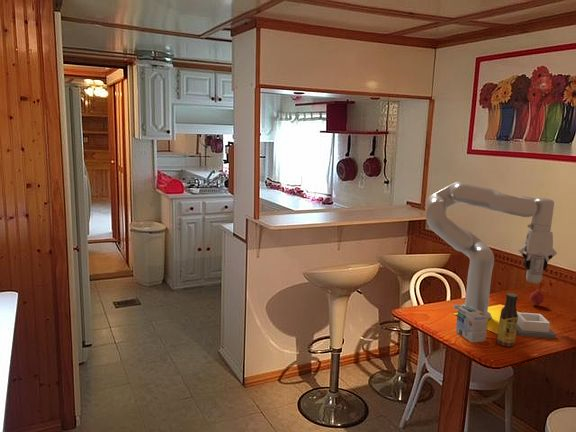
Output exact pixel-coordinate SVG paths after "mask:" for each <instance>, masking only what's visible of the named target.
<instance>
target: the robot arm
mask: <svg viewBox="0 0 576 432" xmlns="http://www.w3.org/2000/svg"><path fill="white" fill-rule="evenodd" d="M425 201H426V202H425V208H426V210H425V211H426V213H425V221H426V223H427V227H429V229H430V230H431V231H432V232H434V233H435V234H436V235H437V236H439V238H441V239H442V240H443V241H444V242H446V243H447V244H448V245H449V246H450V247H452V249H454V250H456V251H457V252H461V253H463V255H465V256H466V257H468V258H469V266H468V271H467V281H466V290H465V291H466V293H465V302H462V303H461V304H453V309H454V310H458V307H467V306H473V307H474V308H476V309H478V310H479V311H481V312H483V313H485V314H487V315H488V320H490V319H491V317H492V315H491V312H489V303H490V301H489V300H490V292H491V282H492V273H493V270H494V264H495V256H494V252H493V250H492V249H491V248H490V247H489V245H487V243H485V242H484V241H483V240H482V239H481V238H479V237H477V236H476V235H475V234H474V233H472V232H471V231H469V229H467V228H466V227H463V226H459V225H457V224H456V223H455V222H453V221H452V220H451V219H449V217H448V216H447V209H448V208H450V207H451V206H453V205H455V204H463V205H467V206H473V207H477V208H481V209H482V208H483V209H487V210H491V211H495V212H498V213H499V212H500V213H503V214H508V215H512V216H518V217H521V218H531V222H530V224H527V228H528V232H527V234H526V237H525V241H524V245H523V246H522V247H520V248H519V249H518V253H519V254H520V255H521V256H522V257H523V258H524V259H523V260H524V268H525V269H526V271H527V270H529V269H530V258H531V256H532V255H538V253H539V252H541V253H543V255H544V256H545V259H544V267H543V271H546V269H547V268H548V263H549V261H550V260H552V258H553V257H554V256H556V255H557V251H556V250H555V249H554V236H553V235H554V234H553V232H552V222H553V218H554V217H553V215H554V209H555V201H554V200H553V199H551V198H545V197H544V198H541V197H539V198H538V197H537V198H535V197H530V196H524V195H521V196H518V197H517V196H513V195H509V194H505V193H502V192H501V191H499V190H495V189H492V188H488V187H482V186H477V185H472V184H468V183H465V182H463V181H455V182H453V183H451V184H449V185H448V186H445V187H444V188H442V189H440V190H439V191H436V192H435V193H433V194H431V195H430V196H428V198H427V199H426V200H425ZM524 252H525V253H524Z"/></svg>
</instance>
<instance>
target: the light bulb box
mask: <svg viewBox="0 0 576 432" xmlns="http://www.w3.org/2000/svg"><path fill="white" fill-rule="evenodd" d="M488 321H489V319H488V315H487V314H485V313H483V312H481V311H479V310H478V309H476V308H474V307H473V306H467V307H458V309H457V315H456V326H455V332H456V333H457V334H458V335H460V336H461V337H463V338H464V339H465V340H467V341H469V343H480V342H481V343H482V342H486V336H487V329H488V328H487V327H488Z"/></svg>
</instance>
